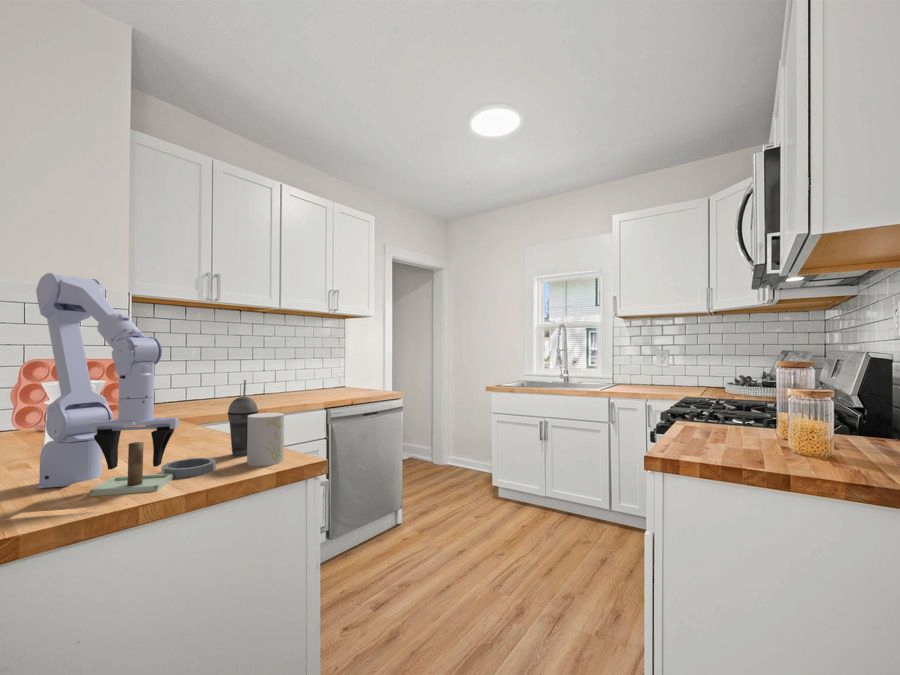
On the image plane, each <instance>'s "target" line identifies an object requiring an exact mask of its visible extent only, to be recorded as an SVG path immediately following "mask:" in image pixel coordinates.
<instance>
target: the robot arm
mask: <svg viewBox="0 0 900 675" xmlns="http://www.w3.org/2000/svg"><path fill="white" fill-rule="evenodd" d="M35 293H36V299H37V303H38V308H39V313H40V315H41V316H42V317H44V318H45V319H46V321H47V326H48V331H49V338H50V343H51V348H52V349H51V350H52V352H53V359H54V366H55V369H56V375H57V380H58V381H57V382H58V386H59V392H60V396H59V397H58V398H56V399H55V400H54V401H52V402H51V403H50V404H49V405H48V406H47V407H46V420H45V429H46V430H45V431H46V433H47V435H48V437H49V438H50V439H51V441H48V442H46V443H45V444H44V445H43V447H42V449H41V451H40V455H39V478H38V479H39V484H38V485H37V486H36V489H44V488H45V489H46V488H59V487H60V488H61V487H69V486H71V485H73V484H75V483H80V482H87V481H91V480H94V479H98V478H99V477H101V476H102V469H103V468H102V464H103V463H102V460H103V457H104V459H105V462H106V466H107V469H108V470H109V471H110V470H113V469H115V468H117V467H118V463H119V443H120V436H121V432H122V431H137V430H153V431H151V439H152V448H153V450H152V451H153V452H152V453H153V455H152V467H153V468H154V467H159V466H160V465H162V461H163V456H164V453H165V450H166V448H167V445H168V443H169V441H170V439H171V437H172V436H173V434H174V432H175V429H177V428H179V424H180V420H179V417H154V411H155V410H154V409H155V408H154V406H155V366H156V365H157V364H158V363H159V362H160V361H161V359H162V355H163V348H162V345H161V343H160V341H159V339H158V338H157V337H155V336H148V335H144V333H143V332H142V331H141V330H140V329H139V328H138V327H137V326H136V325H135V324H134V323H135V322H133V321H132V320H131V318H130V316H129V315H128V314H123V313H119V312H118V313H117V312H116V311H115V309H114V308H113V306H112V305H111V303H110V302H109V300H107V298H106V297H105V296H106V287H105V286H104V285H103V283H102V282H101V281H100V280H99V279H96V278H84V277H78V276H77V277H76V276H71V275H63V274H62V275H61V274H55V273H53V272H47V273H45V274H43V276H42V277H41V278H39V281H38V283H37V286H36V289H35ZM90 317H92V318H93V319H94V320H96V321H97V328H96V329H97V332H98V333H99V334H100V336H101V337H102V338H103V339H104V340H105V341H106V343H107V344H108V345H109V347H111V348H112V351H111V358H112V361H113V362H114V365H115V373H116V375H117V376H118V400H117V401H118V405H117V408H118V409H117V411H118V412H117V418H118V419H114V413H113V411H112V410H111V408H110V406H109V404H108V402H107V398H106V397H105V396H103V395H102V394H100V393H98V392H96V391H94V390H93V388H92V383H91V381H92V380H91V377H90V371H89V367H88V363H87V357H86V352H85V347H84V342H83V336H82V331H81V327H80V323H81V321H82V322H83V321H85V320H87V319H90Z"/></svg>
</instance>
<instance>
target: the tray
mask: <svg viewBox="0 0 900 675" xmlns="http://www.w3.org/2000/svg"><path fill="white" fill-rule="evenodd" d="M173 480H174V473H167V474H161V473H155V474H154V473H153V474H143V479H142V484H140V485H136V486H128V485H127V482H128V475H125V476H113V477H112V478H110V479H108V480H106V481H104V482H103V483H101V484H99V485H97V486H95V487H93V488H92V489H90V490H89V497H97V496H98V497H99V496H110V495H111V496H112V495H124V494H137V493H149V492H151V493H152V492H159V491H160V490H162V488H164V487H165V486H167V484H168V483H170V482H171V481H173Z"/></svg>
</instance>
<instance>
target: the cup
mask: <svg viewBox="0 0 900 675" xmlns="http://www.w3.org/2000/svg"><path fill="white" fill-rule="evenodd" d="M284 456H285V413H282V412H261V413H259V412H258V414H252V415H248V426H247V456H246V460H247V461H246V464H247V465H248V466H252V467H268V466H274V465H278V464H281V463H284V460H285V457H284Z"/></svg>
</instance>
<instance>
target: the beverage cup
mask: <svg viewBox="0 0 900 675" xmlns="http://www.w3.org/2000/svg"><path fill="white" fill-rule="evenodd" d="M246 385H247V380H246V379H243V389H242V390H243V392H242V393H243V394H242V395H243V396H240V397H237V398H235V399H234V400H233V401H231V403H230V405H229V407H228V411H227V416H228V417H227V418H228V422H229V429H230V441H231V442H230V444H231V453H232V456H233V457H247V426H248V415H252V414H258V413H259V410H258V409H259V408H258V405H257V403H256V401H255V400H254V399H252V398H250V397H249V396H246V388H247V387H246Z"/></svg>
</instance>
